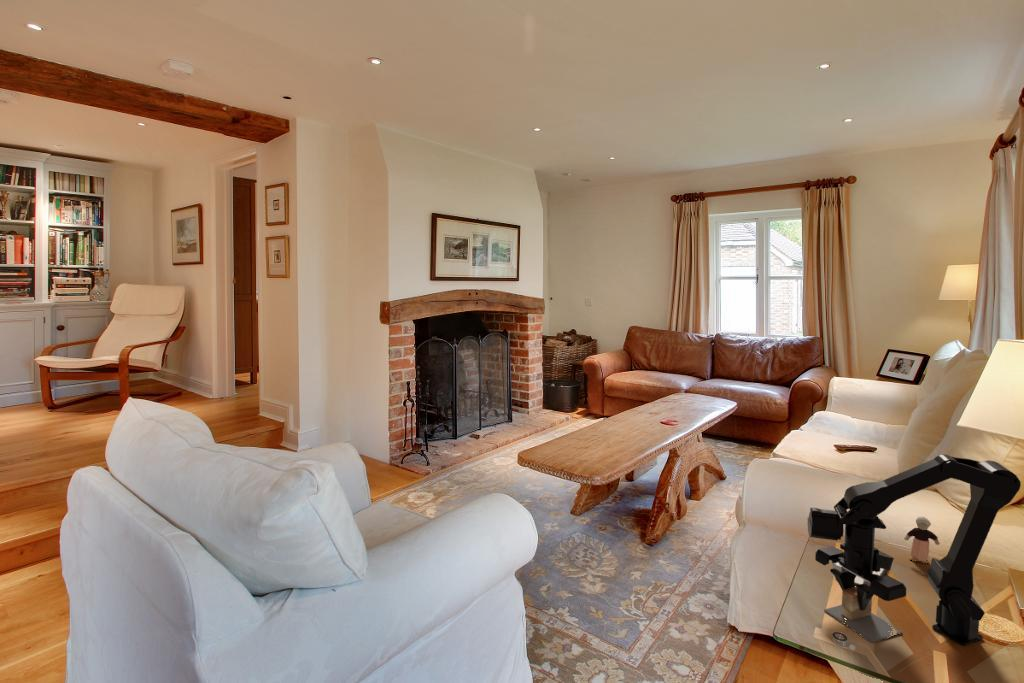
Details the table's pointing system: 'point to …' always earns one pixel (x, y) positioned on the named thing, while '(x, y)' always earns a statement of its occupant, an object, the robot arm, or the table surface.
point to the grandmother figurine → (921, 540)
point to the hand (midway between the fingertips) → (856, 606)
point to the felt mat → (865, 625)
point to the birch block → (853, 605)
